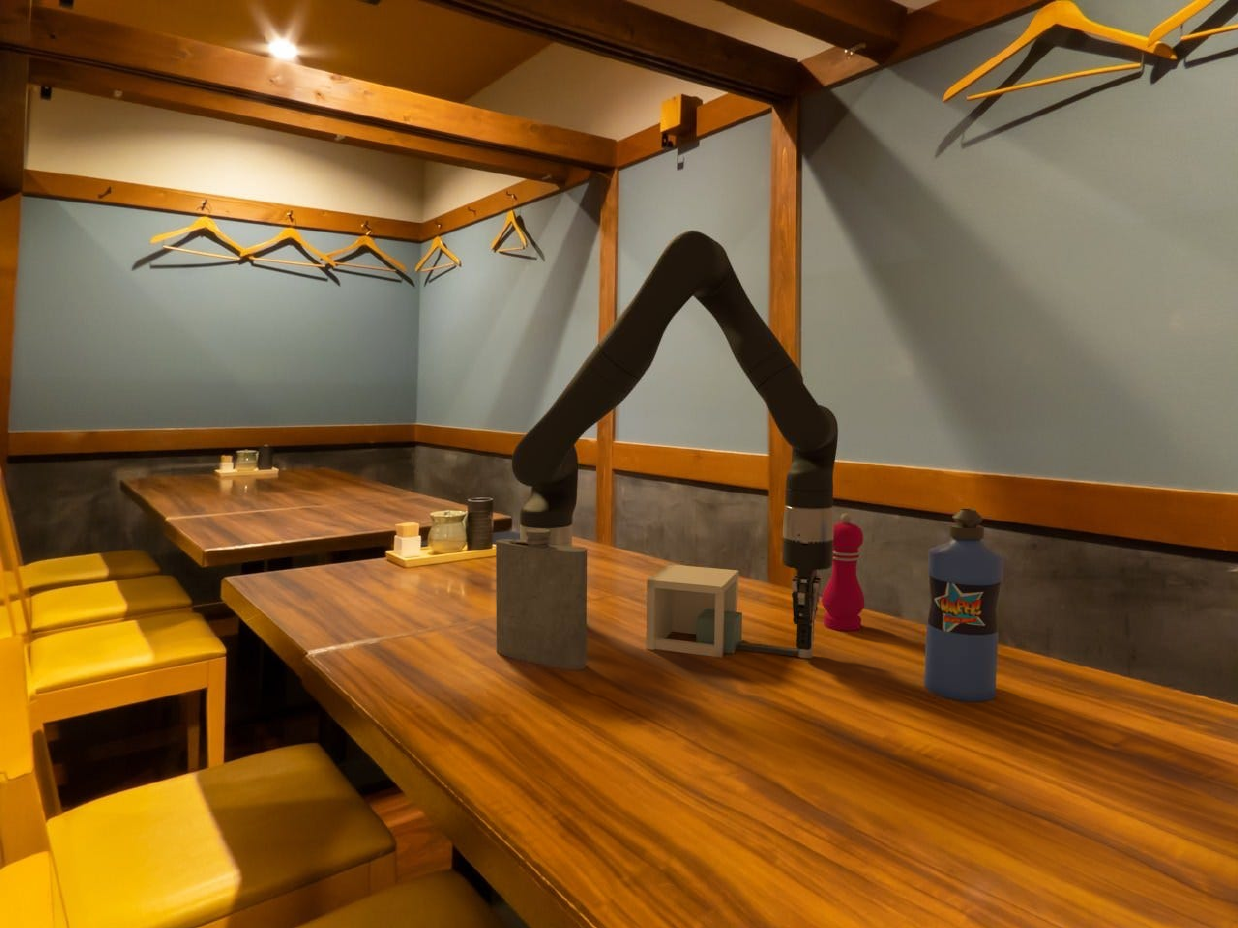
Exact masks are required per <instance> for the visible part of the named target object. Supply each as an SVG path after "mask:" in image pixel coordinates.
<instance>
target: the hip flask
mask: <svg viewBox="0 0 1238 928" xmlns="http://www.w3.org/2000/svg"><path fill="white" fill-rule="evenodd" d="M526 536H528V537H529V539H527V540H521V539H519V538H517V539H512V538H510V539H509V538H507V539H506V538H504V539H498V540H496V542H495V548H496V549H495V552H496V553H495V554H496V557H495V558H496V560H495V561H496V562H495V564H496V565H495V568H496V569H495V570H496V571H495V572H496V575H495V576H496V577H495V578H496V580H495V581H496V583H495V584H496V585H495V586H496V592H495V593H496V596H495V597H496V654H498V655H501V656H504V657H507V658H510V659H515V660H518V661H522V662H527V663H530V664H531V663H532V664H536V665H541V666H547V667H550V668H557V669H566V670H575V671H579V670H583V669H585V668H587V663H588V662H587V661H588V660H587V657H588V655H587V653H588V652H587V649H588V648H587V645H588V641H587V640H588V636H587V635H588V628H587V627H588V549H587V548H586V547H578V546H576V547H575V546H572V547H565V546H555V545H548V543H549V538H547V536H550V530H549V529H542V528H535V529H528V530H526Z"/></svg>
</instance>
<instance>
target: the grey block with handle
mask: <svg viewBox="0 0 1238 928" xmlns="http://www.w3.org/2000/svg"><path fill="white" fill-rule="evenodd" d="M811 605H812V604H811ZM800 616H806V617H807V615H806V614H801V613H800ZM742 621H743V612H741V611H737V612H734V611H724V643H723V653H726V654H734V653H735V652H736V651H737V650H739V651H747V652H756V653H764V654H774V655H782V656H789V657H798V658H800V659H812V658H813V657H814V641H813V627H814V628H815V619H814V611H813V624H812V646H811V649H810V650H804V649H798V648H797V647H790V646H780V645H772V644H766V643H765V644H764V643H763V644H762V643H756V642H755V643H754V642H745V641H742V631H743V629H742V627H743V625H742V624H743V622H742ZM714 625H715V610H714V609H705V610H704V611H703V612H702V613H701V614H700V615H699V616H698V617H697V635H696V642H697V643H705V644H714Z"/></svg>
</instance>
